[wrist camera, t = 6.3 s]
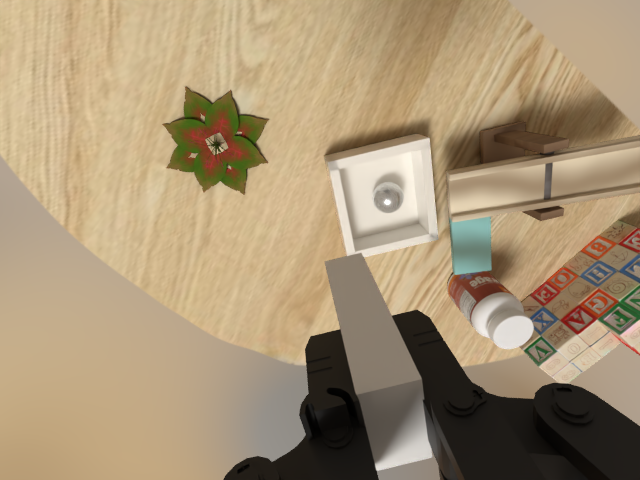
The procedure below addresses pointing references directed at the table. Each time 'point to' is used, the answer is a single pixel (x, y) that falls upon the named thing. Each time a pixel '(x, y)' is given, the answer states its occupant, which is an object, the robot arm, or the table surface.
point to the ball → (388, 197)
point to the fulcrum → (520, 153)
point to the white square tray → (362, 179)
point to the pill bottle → (491, 308)
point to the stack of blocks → (587, 305)
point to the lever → (532, 191)
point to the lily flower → (217, 120)
